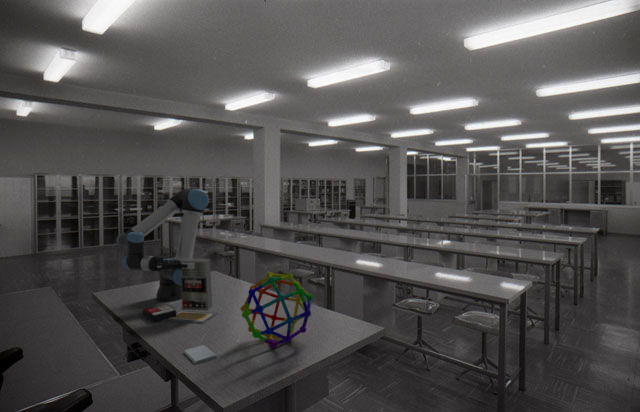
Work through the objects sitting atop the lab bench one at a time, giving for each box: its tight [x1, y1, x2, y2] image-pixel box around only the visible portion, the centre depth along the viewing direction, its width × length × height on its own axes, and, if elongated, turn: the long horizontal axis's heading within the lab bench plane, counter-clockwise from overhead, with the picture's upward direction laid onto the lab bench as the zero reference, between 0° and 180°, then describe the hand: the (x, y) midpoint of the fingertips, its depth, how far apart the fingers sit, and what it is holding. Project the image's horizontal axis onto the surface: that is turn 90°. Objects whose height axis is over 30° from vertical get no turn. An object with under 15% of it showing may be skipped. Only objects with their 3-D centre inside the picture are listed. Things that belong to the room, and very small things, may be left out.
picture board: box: [164, 309, 218, 324], centre depth 183 cm, size 14×21×1 cm, turn 78°
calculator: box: [142, 304, 177, 323], centre depth 184 cm, size 11×4×15 cm
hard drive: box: [183, 344, 217, 365], centre depth 140 cm, size 2×8×12 cm
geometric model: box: [240, 271, 314, 349], centre depth 151 cm, size 30×30×30 cm
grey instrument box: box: [180, 258, 213, 312], centre depth 185 cm, size 14×6×25 cm, turn 83°
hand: (195, 265), depth 181 cm, fingers closed
